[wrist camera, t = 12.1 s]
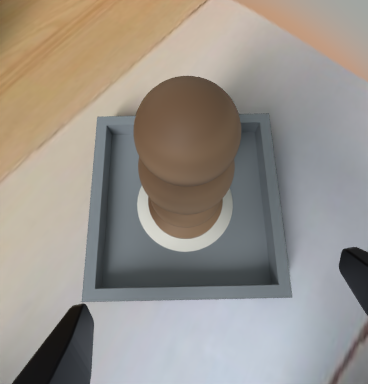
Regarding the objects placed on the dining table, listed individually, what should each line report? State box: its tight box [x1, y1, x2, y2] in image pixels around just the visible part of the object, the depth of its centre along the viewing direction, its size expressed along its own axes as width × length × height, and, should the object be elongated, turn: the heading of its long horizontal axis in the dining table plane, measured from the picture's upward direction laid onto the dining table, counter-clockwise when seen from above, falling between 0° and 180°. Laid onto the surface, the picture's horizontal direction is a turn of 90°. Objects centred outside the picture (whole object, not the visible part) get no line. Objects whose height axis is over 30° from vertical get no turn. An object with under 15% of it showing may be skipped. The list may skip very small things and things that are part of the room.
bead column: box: [133, 76, 241, 239], centre depth 14 cm, size 6×6×13 cm
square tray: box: [82, 113, 292, 302], centre depth 20 cm, size 14×14×2 cm
